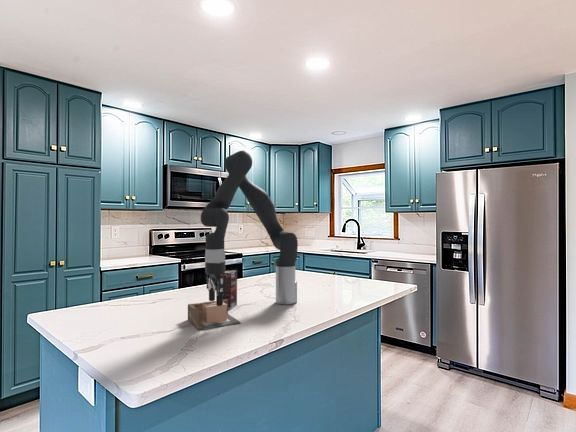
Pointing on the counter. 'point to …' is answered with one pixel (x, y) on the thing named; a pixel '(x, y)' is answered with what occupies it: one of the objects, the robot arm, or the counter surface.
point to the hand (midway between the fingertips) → (215, 303)
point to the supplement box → (230, 288)
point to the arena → (197, 317)
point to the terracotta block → (214, 312)
